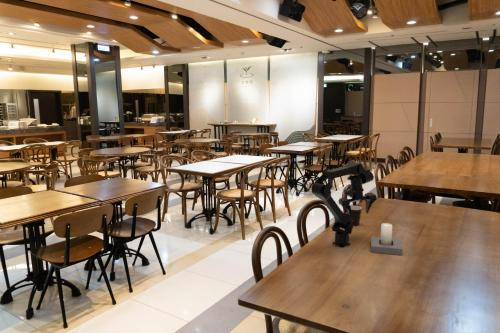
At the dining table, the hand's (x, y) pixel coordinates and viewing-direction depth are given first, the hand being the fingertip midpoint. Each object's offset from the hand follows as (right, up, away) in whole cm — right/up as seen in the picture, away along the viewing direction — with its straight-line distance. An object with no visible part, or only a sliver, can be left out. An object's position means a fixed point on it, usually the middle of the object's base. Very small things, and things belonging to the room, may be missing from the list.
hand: (358, 214), depth 195 cm
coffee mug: (+6, -9, +27) cm, 29 cm away
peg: (+10, -15, -11) cm, 21 cm away
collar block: (+10, -15, -11) cm, 21 cm away
